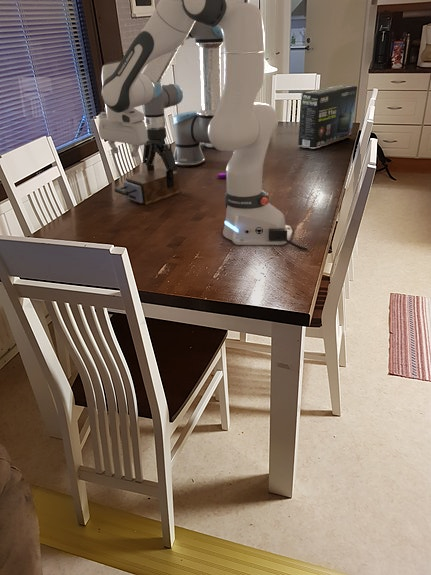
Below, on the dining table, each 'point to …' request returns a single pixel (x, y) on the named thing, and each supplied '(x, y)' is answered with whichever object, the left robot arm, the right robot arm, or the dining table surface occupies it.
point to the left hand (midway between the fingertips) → (161, 184)
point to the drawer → (132, 191)
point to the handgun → (222, 175)
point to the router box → (326, 115)
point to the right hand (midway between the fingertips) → (124, 154)
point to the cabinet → (155, 184)
